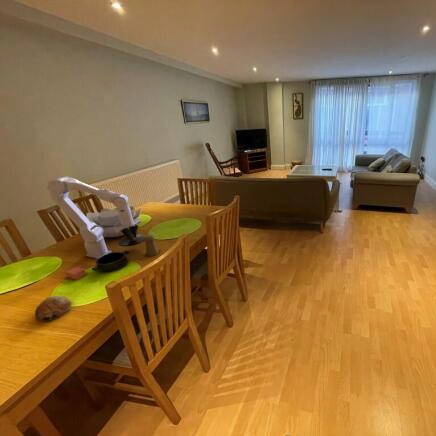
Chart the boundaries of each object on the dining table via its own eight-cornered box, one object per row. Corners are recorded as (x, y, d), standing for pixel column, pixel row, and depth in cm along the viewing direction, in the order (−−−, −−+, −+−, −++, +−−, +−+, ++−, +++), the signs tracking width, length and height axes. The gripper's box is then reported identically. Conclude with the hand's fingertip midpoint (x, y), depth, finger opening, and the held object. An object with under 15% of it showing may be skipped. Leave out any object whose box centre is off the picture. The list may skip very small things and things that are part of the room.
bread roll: (78, 312, 97) (78, 292, 98) (53, 322, 87) (54, 300, 88) (52, 313, 97) (53, 293, 98) (25, 323, 87) (26, 300, 87)
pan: (86, 273, 117) (83, 265, 115) (120, 255, 133) (118, 247, 131) (104, 277, 113) (102, 269, 112) (137, 258, 129) (135, 251, 127)
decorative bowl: (99, 250, 137) (91, 226, 132) (83, 236, 154) (75, 214, 148) (153, 232, 160) (148, 211, 154) (134, 221, 176) (129, 202, 171)
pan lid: (113, 245, 132) (110, 237, 131) (134, 235, 144) (132, 227, 142) (131, 249, 128) (129, 241, 127) (152, 238, 140) (150, 230, 138)
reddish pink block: (67, 277, 114) (65, 272, 113) (78, 272, 118) (75, 267, 116) (76, 279, 112) (74, 274, 111) (86, 274, 116) (84, 269, 115)
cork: (145, 256, 131) (140, 238, 127) (148, 251, 136) (143, 233, 132) (157, 255, 132) (153, 237, 128) (159, 249, 138) (155, 232, 134)
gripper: (118, 222, 123) (125, 245, 128) (142, 212, 136) (148, 234, 141) (108, 220, 125) (115, 243, 130) (133, 211, 138) (139, 232, 143)
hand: (132, 238), depth 136 cm, fingers closed on pan lid, 2 cm apart
